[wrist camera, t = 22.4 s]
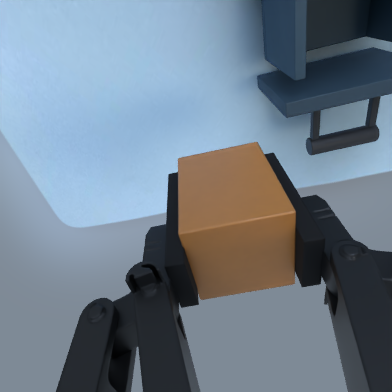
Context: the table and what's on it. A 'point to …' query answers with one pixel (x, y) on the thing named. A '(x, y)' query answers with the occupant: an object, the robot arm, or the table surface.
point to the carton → (235, 222)
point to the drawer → (326, 63)
